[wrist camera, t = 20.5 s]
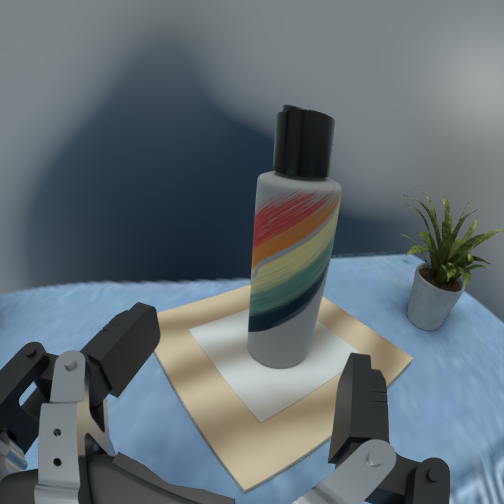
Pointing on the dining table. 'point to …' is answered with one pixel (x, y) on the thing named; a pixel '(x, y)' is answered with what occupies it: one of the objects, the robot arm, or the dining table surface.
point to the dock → (261, 382)
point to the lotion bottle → (292, 238)
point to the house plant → (442, 270)
